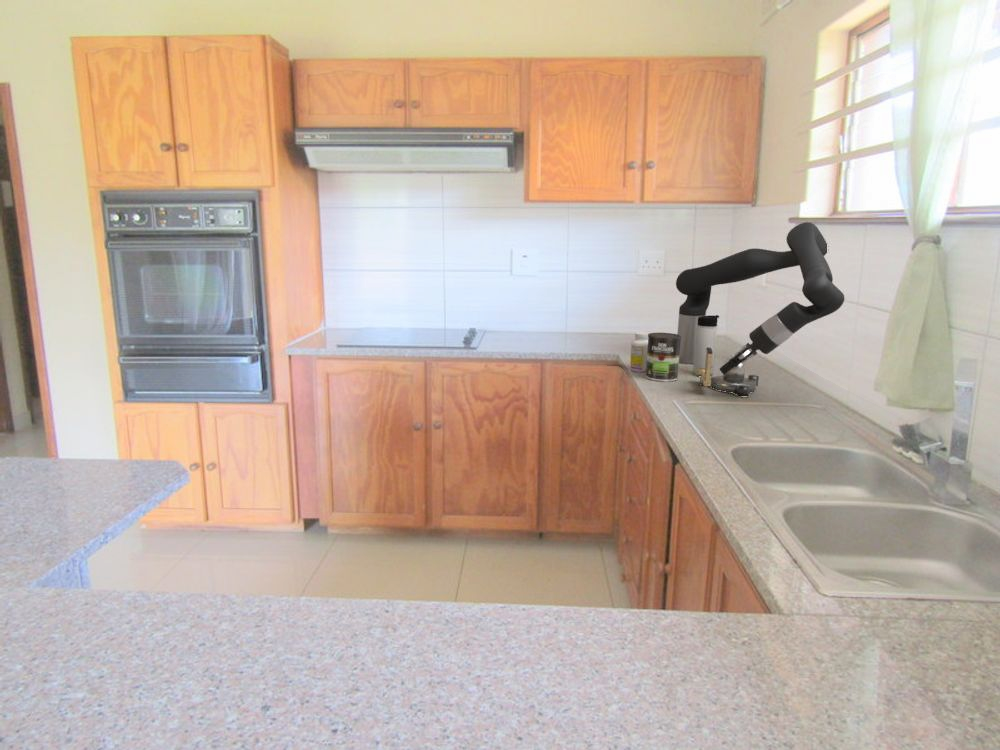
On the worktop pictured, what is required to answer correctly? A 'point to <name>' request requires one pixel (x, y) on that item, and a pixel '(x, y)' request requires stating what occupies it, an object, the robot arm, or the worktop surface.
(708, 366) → the lever
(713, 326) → the travel mug
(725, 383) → the levelling base
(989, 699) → the worktop surface
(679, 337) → the coffee can
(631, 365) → the supplement bottle
